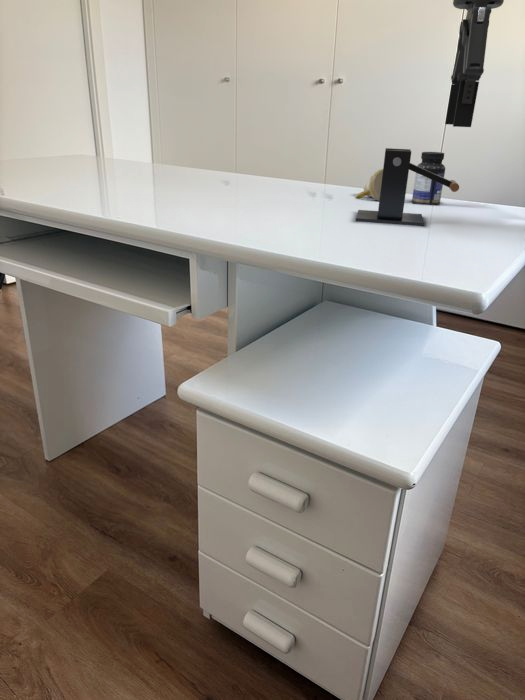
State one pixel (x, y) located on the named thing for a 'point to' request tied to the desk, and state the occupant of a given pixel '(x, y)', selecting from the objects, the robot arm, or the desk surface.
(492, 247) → the desk surface
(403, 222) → the bracket
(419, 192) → the pill bottle
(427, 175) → the lever
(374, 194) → the tan rounded piece
